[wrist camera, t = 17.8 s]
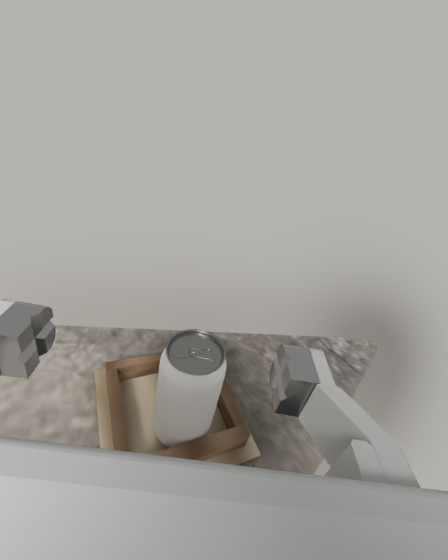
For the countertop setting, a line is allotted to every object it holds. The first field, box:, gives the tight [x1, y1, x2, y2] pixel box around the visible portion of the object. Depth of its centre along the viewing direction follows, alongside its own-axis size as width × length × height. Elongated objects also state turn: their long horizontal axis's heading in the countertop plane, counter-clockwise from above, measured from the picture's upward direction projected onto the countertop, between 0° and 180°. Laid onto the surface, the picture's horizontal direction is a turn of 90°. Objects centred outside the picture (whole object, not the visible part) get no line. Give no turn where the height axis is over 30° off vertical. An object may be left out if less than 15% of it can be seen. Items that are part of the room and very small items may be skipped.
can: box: [154, 329, 227, 448], centre depth 30 cm, size 6×6×12 cm
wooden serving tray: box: [94, 353, 260, 465], centre depth 34 cm, size 16×16×3 cm
